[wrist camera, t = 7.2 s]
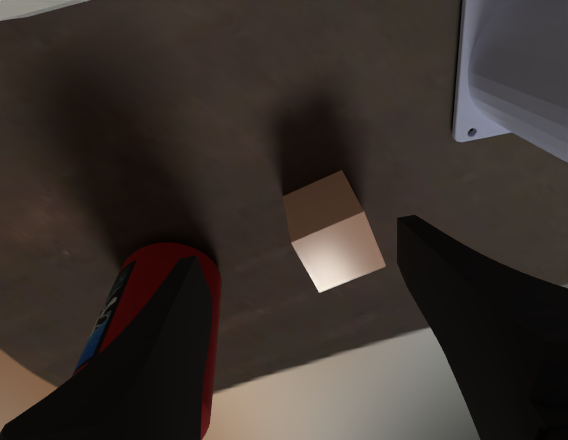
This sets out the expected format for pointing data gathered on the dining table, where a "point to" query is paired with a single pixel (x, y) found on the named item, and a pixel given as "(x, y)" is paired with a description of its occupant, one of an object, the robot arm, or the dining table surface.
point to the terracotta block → (331, 232)
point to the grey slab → (31, 7)
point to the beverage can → (136, 293)
